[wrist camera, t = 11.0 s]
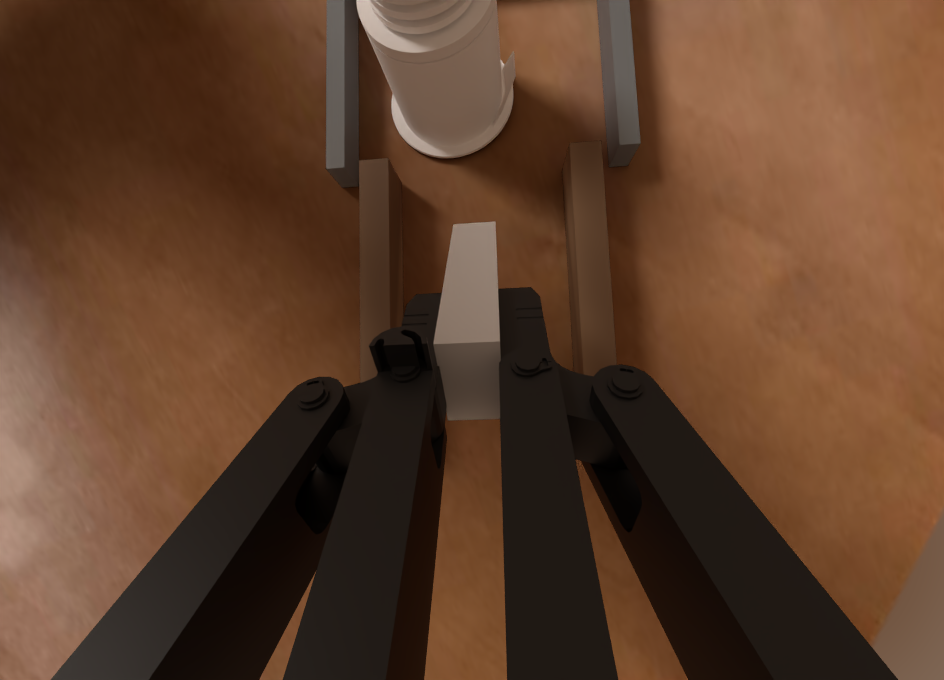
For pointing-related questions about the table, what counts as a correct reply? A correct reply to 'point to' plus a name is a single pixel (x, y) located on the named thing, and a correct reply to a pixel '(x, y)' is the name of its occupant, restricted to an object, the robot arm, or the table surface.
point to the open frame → (346, 87)
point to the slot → (583, 257)
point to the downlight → (442, 71)
